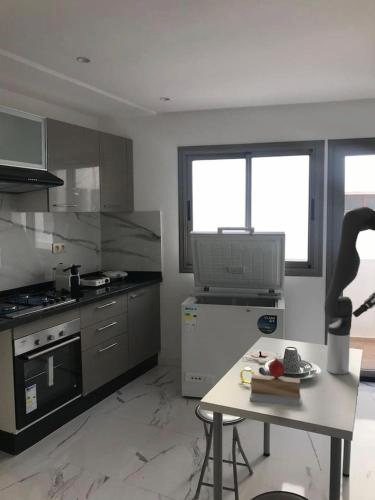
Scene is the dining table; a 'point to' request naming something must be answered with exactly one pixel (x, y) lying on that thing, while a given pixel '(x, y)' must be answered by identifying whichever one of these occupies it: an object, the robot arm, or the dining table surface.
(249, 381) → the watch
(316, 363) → the dining table surface
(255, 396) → the ridge base
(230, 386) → the dining table surface
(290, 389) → the ridge
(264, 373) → the bracket
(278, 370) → the onion
